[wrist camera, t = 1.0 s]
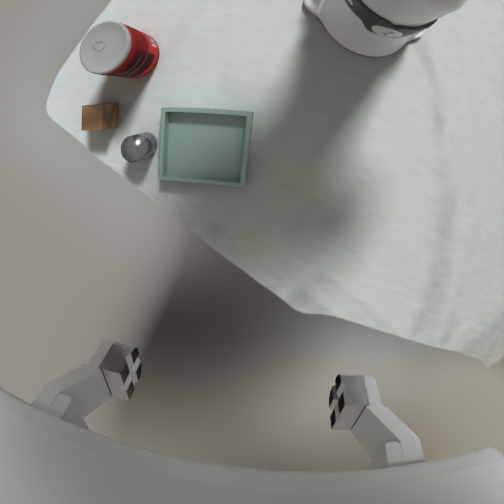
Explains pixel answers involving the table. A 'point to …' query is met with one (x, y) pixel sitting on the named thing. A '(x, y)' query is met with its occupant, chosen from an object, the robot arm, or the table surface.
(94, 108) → the walnut block
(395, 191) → the table surface
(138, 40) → the canned food
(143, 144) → the metal peg
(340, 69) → the table surface
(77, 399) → the robot arm
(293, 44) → the table surface
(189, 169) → the tray
